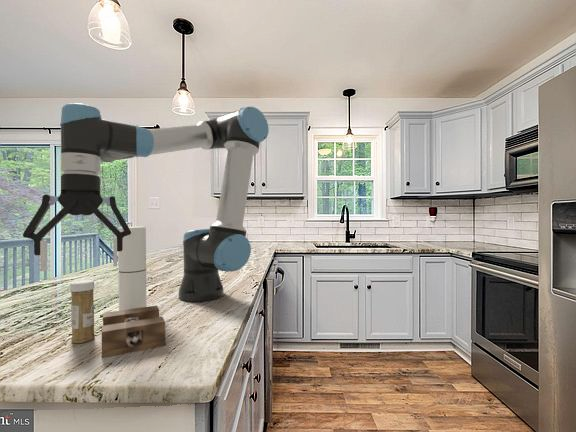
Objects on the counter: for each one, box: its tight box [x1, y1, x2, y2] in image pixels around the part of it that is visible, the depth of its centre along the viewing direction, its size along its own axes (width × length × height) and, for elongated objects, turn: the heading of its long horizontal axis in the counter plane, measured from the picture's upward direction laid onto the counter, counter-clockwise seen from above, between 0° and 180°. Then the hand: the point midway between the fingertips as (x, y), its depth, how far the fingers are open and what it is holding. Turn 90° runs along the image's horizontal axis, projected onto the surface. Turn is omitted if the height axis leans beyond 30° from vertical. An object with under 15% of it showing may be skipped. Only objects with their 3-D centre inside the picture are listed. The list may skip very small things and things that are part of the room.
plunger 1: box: [126, 317, 138, 322], centre depth 77 cm, size 2×6×2 cm, turn 29°
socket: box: [101, 305, 166, 358], centre depth 72 cm, size 12×15×5 cm
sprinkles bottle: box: [69, 279, 95, 344], centre depth 72 cm, size 5×5×14 cm
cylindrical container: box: [117, 226, 148, 318], centre depth 90 cm, size 7×7×25 cm
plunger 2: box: [128, 331, 140, 343], centre depth 68 cm, size 2×6×2 cm, turn 29°
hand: (81, 267), depth 71 cm, fingers open, 13 cm apart
